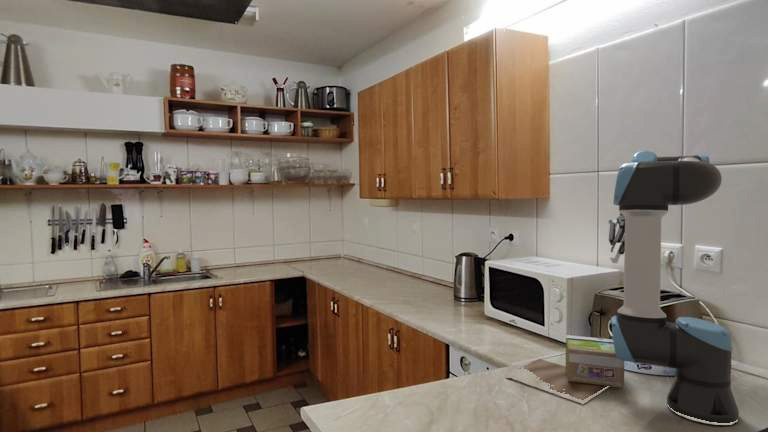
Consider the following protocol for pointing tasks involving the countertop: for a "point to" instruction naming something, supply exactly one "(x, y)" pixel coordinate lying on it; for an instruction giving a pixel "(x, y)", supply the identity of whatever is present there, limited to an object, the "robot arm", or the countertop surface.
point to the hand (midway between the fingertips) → (613, 260)
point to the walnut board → (561, 379)
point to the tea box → (593, 361)
